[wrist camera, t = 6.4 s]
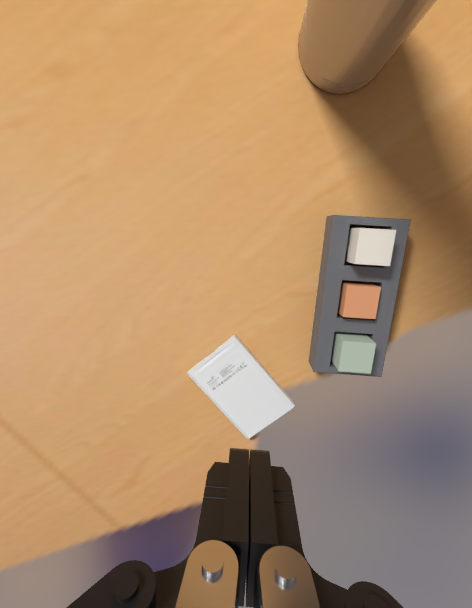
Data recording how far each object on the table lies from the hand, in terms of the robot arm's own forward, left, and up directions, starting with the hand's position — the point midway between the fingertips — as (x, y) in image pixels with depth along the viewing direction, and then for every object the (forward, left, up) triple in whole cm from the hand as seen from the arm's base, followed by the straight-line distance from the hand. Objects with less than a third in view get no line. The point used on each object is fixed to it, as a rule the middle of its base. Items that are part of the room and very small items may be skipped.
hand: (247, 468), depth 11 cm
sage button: (+4, +12, -25) cm, 28 cm away
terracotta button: (-2, +12, -26) cm, 29 cm away
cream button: (-8, +12, -25) cm, 29 cm away
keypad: (-2, +12, -27) cm, 30 cm away
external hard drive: (+11, 0, -28) cm, 30 cm away
